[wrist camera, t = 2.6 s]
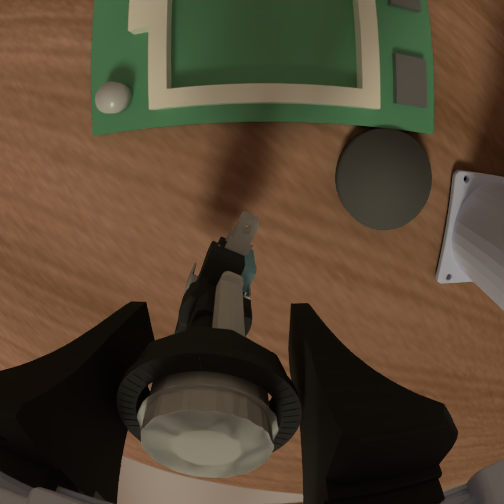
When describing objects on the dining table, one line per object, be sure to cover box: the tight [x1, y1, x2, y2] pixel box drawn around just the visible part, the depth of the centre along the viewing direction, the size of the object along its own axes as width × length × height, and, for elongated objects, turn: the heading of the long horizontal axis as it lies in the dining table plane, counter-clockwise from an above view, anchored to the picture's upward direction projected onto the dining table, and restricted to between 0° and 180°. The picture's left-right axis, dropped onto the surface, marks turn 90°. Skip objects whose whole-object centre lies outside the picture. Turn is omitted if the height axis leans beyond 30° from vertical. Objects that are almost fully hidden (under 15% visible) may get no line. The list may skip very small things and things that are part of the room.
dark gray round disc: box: [335, 128, 432, 230], centre depth 17 cm, size 6×6×1 cm
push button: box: [116, 211, 302, 478], centre depth 12 cm, size 7×5×10 cm
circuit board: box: [91, 0, 434, 136], centre depth 13 cm, size 20×14×2 cm
